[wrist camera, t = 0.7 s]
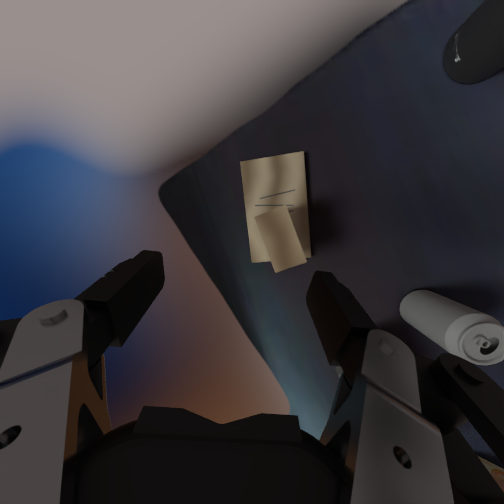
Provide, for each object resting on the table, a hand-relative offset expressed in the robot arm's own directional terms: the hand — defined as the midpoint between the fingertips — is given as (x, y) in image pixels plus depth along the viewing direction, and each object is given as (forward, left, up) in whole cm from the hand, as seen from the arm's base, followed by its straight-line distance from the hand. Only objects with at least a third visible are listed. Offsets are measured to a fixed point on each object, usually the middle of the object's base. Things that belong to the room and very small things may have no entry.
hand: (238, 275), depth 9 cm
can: (-29, +17, -28) cm, 44 cm away
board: (-3, -5, -28) cm, 29 cm away
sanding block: (-3, 0, -27) cm, 27 cm away
